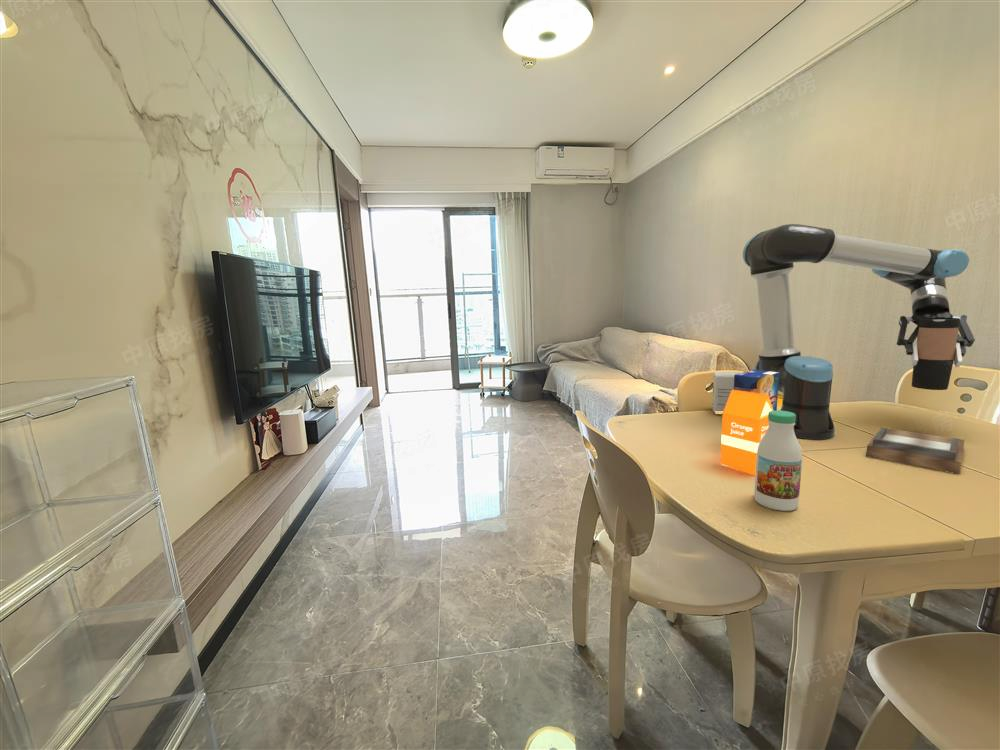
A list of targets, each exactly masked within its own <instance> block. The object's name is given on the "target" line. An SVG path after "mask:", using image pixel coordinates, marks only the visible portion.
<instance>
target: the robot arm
mask: <svg viewBox="0 0 1000 750" xmlns="http://www.w3.org/2000/svg"><path fill="white" fill-rule="evenodd" d="M742 258H743V262H744V264H745V265H746V266H748V267H749V268H750V269H749V270H750V276H751V277H752V278H754V279H755V280H756V283H757V286H756V287H757V296H758V305H759V316H760V317H759V318H760V324H761V325H760V326H761V336H762V337H761V338H762V345H763V346H762V347H763V348H762V350H760V351H759V352H758V360H757V362H756V363H755V364H754V369H753V370H761V371H772V372H779V385H778V392H781V393H782V401H781V402H782V404H781V408H780V411H788V412H792V413H794V414H795V415H796V421H795V425H794V433H795V436H796V438H797V439H798V438H800V439H808V440H828V439H832V438H834V437H835V432H836V431H835V425H834V421H833V418H832V416H831V413H830V404H831V394H832V383H833V378H834V367H833V364H832V362H831V361H829V360H826V359H824V358H821V357H813V356H808V355H807V356H805V355H801V354H802V353H801V349H800V348H798V347H796V345H795V343H794V338H795V337H794V328H793V317H792V315H793V314H792V303H791V292H790V282H789V281H790V280H789V277H790V276H789V274H790V272H792V271H793V269H794V263H811V264H820V263H822V262H829V263H834V264H841V265H848V266H852V267H853V266H854V267H861V268H867V269H871V271H872V273H874V274H875V275H877V276H878V277H880V278H883V279H885V280H888V281H890V282H892V283H894V284H897V285H900V286H902V287H904V288H906V289H908V290H910V297H911V299H910V301H911V311H912V313H911V314H912V315H911V316H907V317H906V316H905V315H902V316H900V317H899V320H898V325H899V327H900V328H899V331H898V336H897V341H896V345H897V346H899V347H901V346H904V349H905V354H906V355H907V356H911V357H910V358H911V366H912V367H913V366H916V364H917V362H918V351H917V337H918V331H919V325H920V319H922V318H959V319H960V322H959V329H958V336H957V343H956V349H955V356H954V362H953V365H954V367H955V368H960V367H961V365H962V363H963V357H965V355H966V354H967V349H966V347H967V348H969V347H970V348H971V347H972V346H973V345H974V342H975V341H976V338H975V337H974V335H973V333H972V330H971V329H970V326H969V323H968V322H967V320H968V316H967V315H966V314H962V315H961V316H954V315H953V314H951V311H950V309H951V308H950V304H949V297H948V291H947V285H946V284H947V283H946V278H951V277H952V278H953V277H956V276H958V275H961V274H963V273H964V272H965V271H966V270H967V268H968V266H969V262H970V257H969V255H968V253H967V252H966V251H964V250H963V249H958V248H957V249H951V248H949V249H945V250H938V249H933V248H932V249H931V248H925V247H918V246H911V245H905V244H900V243H894V242H887V241H882V240H881V241H880V240H877V239H868V238H861V237H856V236H850V235H843V234H838V233H836V231H835V230H834V229H831V228H825V227H824V228H823V227H820V226H819V227H818V226H811V225H807V224H806V225H805V224H799V223H798V224H797V223H787V224H783V225H780V226H777V227H774V228H770V229H767V230H764V231H763V230H762V231H760V232H759V233H757V234H756V235H755V234H754V236H752V237H751V238H750V239H749V240H747V242H746V243H745V245H744V247H743V250H742ZM910 322H912V323H913V324H914V325H916V327H915V328H914V330H913V331H912V333H911V335H909V337H908V339H906V338H905V337H906V332H907V329H908V328H907V327H908V325H910ZM915 341H916V342H915Z"/></svg>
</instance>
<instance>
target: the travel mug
mask: <svg viewBox="0 0 1000 750" xmlns="http://www.w3.org/2000/svg"><path fill="white" fill-rule="evenodd" d="M959 322H960V319H959V318H922V319H920V325H919V331H918V337H917V338H916V342H917V351H918V362H917V364H916V366H912V377H911V387H913V388H916V389H920V390H921V389H922V390H930V391H946V390H948V388H949V385H950V379H951V375H952V371H953V367H954V366H953V365H954V356H955V349H956V343H957V336H958V334H959V330H958V329H959Z"/></svg>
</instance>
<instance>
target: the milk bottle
mask: <svg viewBox="0 0 1000 750" xmlns="http://www.w3.org/2000/svg"><path fill="white" fill-rule="evenodd" d="M795 421H796V415H795V414H794V413H792V412H788V411H780V410H778V409H777V410H775V411H770V412H769V413H768V422H769V427H768V429H767V431H766V433H765V435H764V436H763V438H762V439H761V441H760V443H759V446H758V450H757V460H756V473H755V476H754V490H753V491H754V492H753V494H754V495H753V497H754V499H755V501H756V503H758V504H760V505H762V506H763V507H765V508H768V509H771V510H775V511H781V512H791V511H794V510H796V509H797V508H798V507H799V502H800V491H801V489H800V488H801V481H802V480H801V477H802V465H803V464H802V463H803V459H802V458H803V453H802V448H801V445H800V442H799V441H798V437H796V436H795V433H794V425H795Z"/></svg>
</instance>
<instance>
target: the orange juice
mask: <svg viewBox="0 0 1000 750" xmlns="http://www.w3.org/2000/svg"><path fill="white" fill-rule="evenodd" d="M770 411H773V408H772V405H771V402H770V399H769V395H767V394H760V393H753V392H746V391H739V390H732V391H731V394H730V396H729V399H728V401H727V404H726V407H725V409H724V412H723V415H722V419H721V422H722V423H721V436H720V437H721V438H720V439H721V440H720V463H722V464H725V465H728V466H730V467H733V468H735V469H738V470H741V471H743V472H742V473H744V472H746V473H745V474H747V473H749V474H748V475H751V476H754V475H755V473H756V460H757V450H758V446H759V443H760V441H761V439H762V438H763V436H764V435H765V433H766V431H767V429H768V427H769V422H768V413H769V412H770ZM720 463H719V464H720ZM738 470H737V471H738ZM741 471H740V472H741Z"/></svg>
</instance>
